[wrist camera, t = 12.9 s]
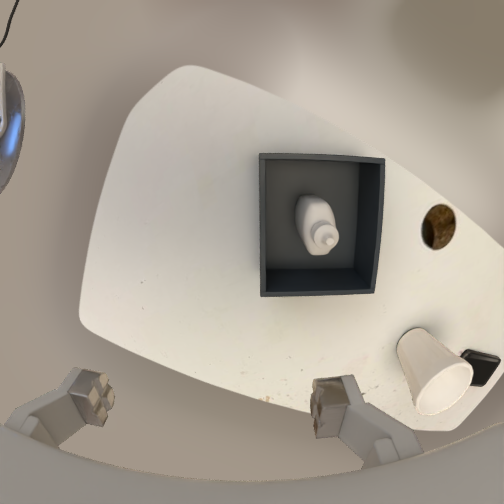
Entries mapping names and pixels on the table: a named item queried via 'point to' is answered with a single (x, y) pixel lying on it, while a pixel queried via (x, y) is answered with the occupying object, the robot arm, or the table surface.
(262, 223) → the bin
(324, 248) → the eye dropper bottle
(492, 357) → the phone
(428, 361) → the cup
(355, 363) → the table surface
